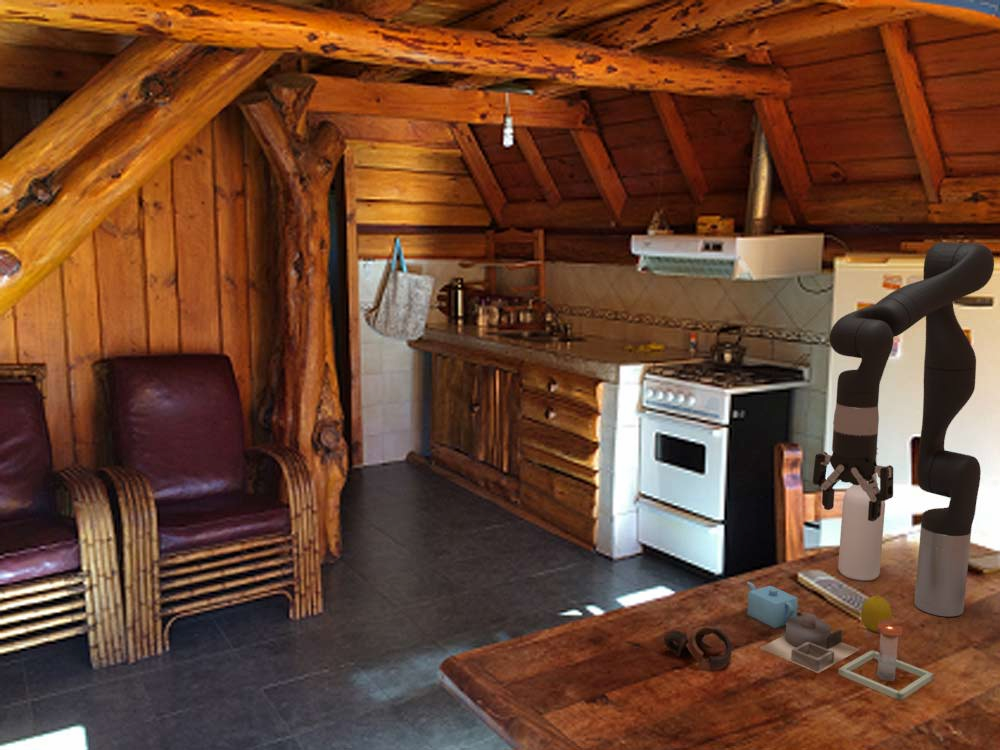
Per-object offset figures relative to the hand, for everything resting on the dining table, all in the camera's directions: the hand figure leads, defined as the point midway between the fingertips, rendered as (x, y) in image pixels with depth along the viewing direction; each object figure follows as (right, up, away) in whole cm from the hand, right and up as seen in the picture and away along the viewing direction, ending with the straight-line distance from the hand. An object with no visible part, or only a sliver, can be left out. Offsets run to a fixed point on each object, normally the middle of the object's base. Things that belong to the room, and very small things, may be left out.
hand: (850, 514), depth 164 cm
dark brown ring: (-29, -27, -2) cm, 40 cm away
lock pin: (+2, -27, -10) cm, 29 cm away
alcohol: (+17, -20, +40) cm, 48 cm away
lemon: (+9, -25, +10) cm, 28 cm away
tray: (+2, -28, -9) cm, 30 cm away
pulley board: (-7, -26, +1) cm, 27 cm away
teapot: (-11, -24, +15) cm, 30 cm away
